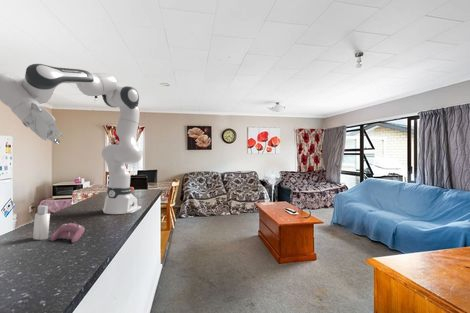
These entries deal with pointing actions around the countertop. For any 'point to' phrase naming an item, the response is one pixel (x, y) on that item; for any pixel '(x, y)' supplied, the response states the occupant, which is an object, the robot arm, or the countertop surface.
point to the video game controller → (65, 230)
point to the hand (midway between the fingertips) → (59, 139)
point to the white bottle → (41, 223)
